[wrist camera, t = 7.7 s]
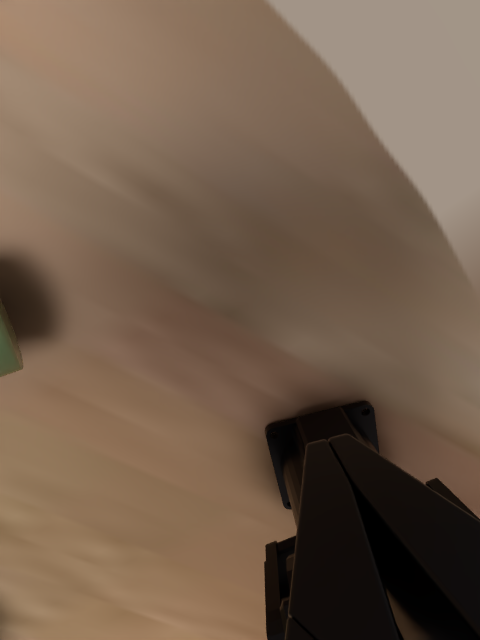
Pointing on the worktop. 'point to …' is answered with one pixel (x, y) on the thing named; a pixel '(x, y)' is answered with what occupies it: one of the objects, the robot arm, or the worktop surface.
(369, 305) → the worktop surface
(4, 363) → the bottle
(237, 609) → the worktop surface
